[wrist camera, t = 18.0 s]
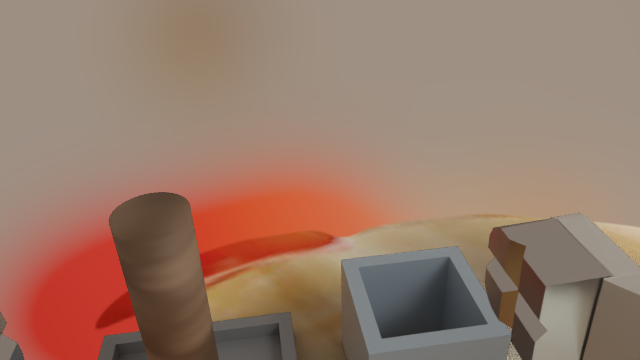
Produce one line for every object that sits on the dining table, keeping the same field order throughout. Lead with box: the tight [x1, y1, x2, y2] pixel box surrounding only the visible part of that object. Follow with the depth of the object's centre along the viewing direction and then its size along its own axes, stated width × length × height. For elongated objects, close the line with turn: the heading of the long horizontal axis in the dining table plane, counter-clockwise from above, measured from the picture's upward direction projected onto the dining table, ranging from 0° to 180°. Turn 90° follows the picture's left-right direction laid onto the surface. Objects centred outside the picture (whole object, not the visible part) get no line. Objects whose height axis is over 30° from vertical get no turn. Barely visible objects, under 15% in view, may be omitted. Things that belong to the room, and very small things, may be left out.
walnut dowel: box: [109, 192, 219, 360], centre depth 31 cm, size 4×4×16 cm
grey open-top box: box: [341, 246, 511, 360], centre depth 36 cm, size 8×8×8 cm
